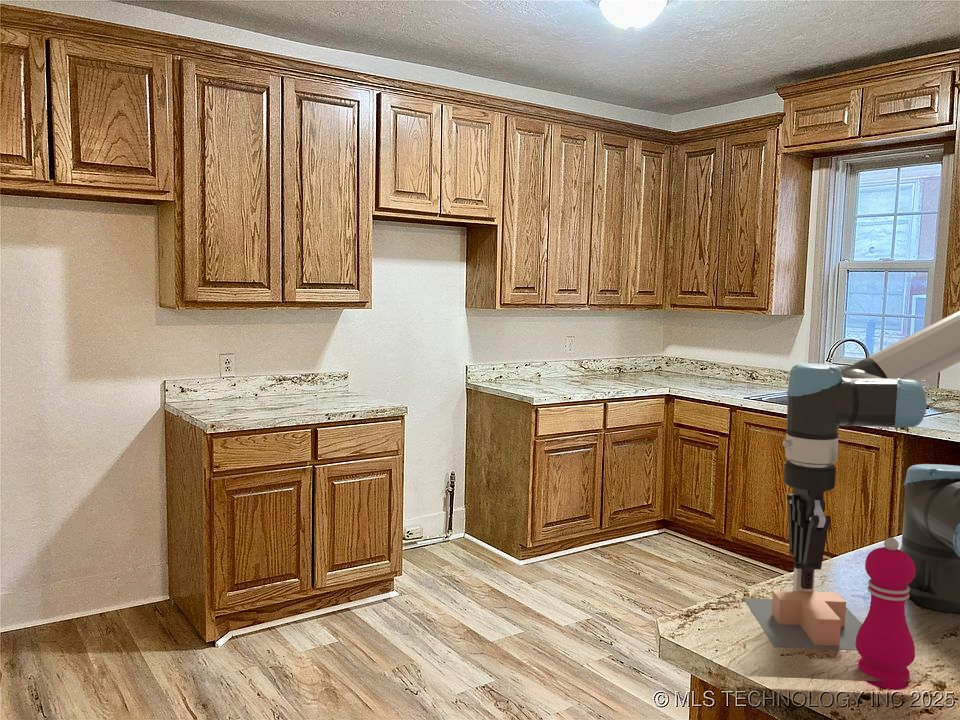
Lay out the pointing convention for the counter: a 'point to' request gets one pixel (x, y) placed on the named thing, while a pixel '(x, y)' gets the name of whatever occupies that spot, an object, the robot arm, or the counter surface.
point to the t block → (812, 614)
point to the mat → (799, 628)
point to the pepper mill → (887, 618)
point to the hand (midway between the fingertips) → (802, 604)
